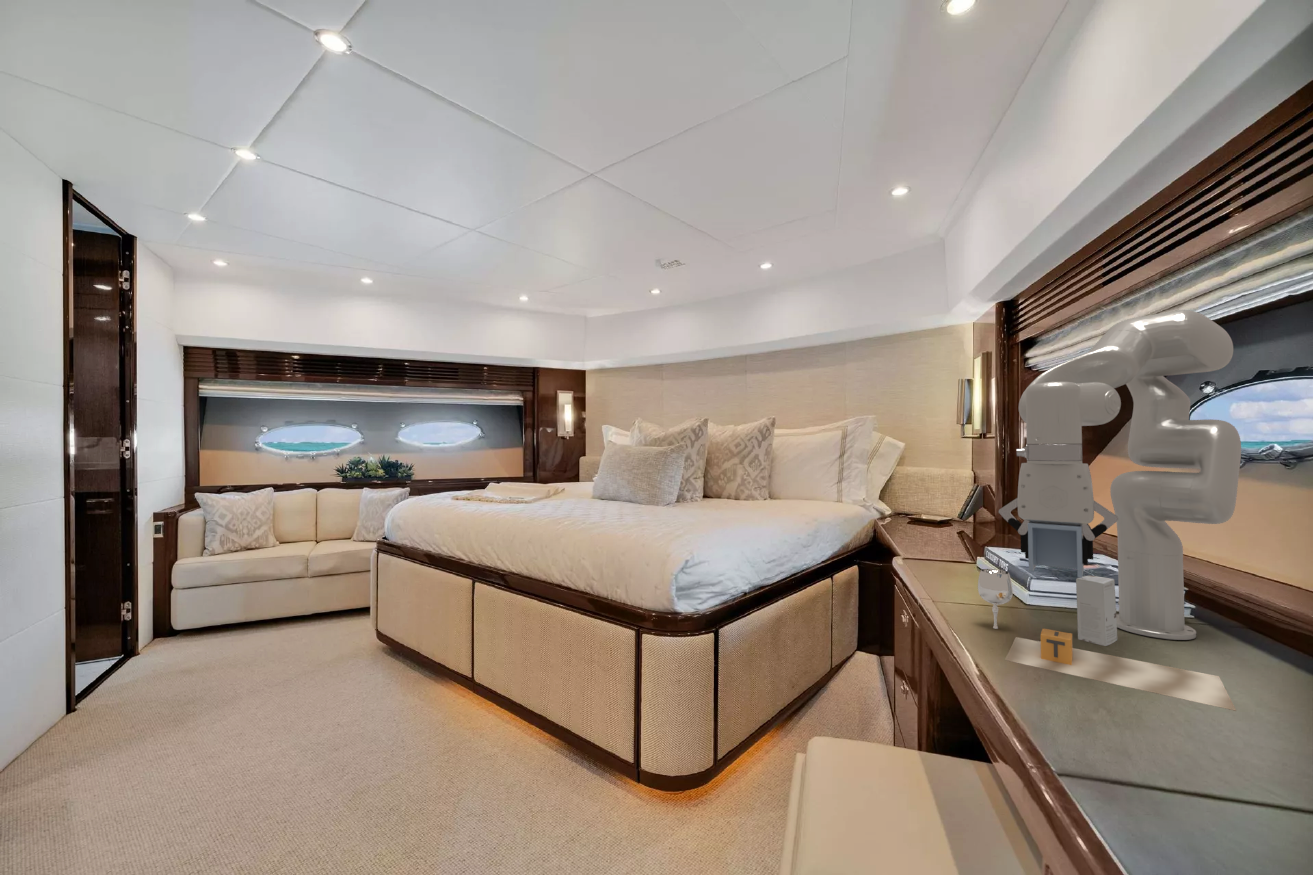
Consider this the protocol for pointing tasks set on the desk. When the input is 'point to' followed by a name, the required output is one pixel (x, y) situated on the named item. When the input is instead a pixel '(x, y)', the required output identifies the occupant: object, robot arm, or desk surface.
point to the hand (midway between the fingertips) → (1056, 559)
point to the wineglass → (995, 588)
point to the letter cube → (1056, 646)
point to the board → (1129, 673)
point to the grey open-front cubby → (1055, 546)
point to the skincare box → (1096, 610)
